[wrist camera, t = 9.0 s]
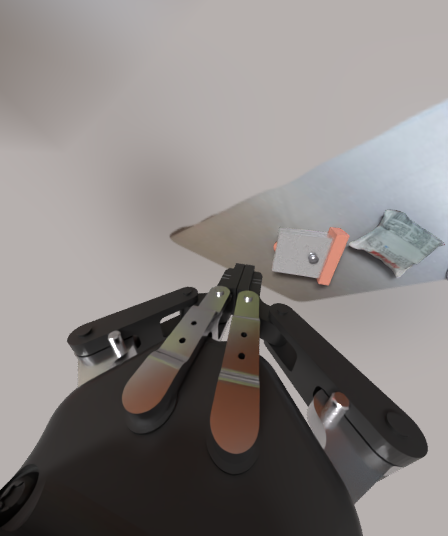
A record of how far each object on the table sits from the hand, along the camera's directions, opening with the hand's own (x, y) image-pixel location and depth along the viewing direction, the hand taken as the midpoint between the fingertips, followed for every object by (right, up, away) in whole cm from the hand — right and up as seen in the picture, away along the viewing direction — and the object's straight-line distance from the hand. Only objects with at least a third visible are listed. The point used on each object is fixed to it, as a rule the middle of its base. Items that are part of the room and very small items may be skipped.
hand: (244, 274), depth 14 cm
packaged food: (+31, +6, +20) cm, 37 cm away
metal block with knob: (+15, +5, +25) cm, 30 cm away
